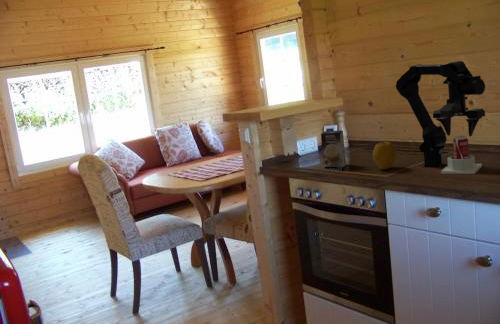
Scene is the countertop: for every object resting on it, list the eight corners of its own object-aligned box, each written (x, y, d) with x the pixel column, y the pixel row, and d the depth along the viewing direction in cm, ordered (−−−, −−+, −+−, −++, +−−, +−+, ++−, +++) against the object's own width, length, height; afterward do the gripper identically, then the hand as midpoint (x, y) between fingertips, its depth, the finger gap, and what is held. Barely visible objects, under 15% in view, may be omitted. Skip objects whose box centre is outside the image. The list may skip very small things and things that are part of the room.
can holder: (441, 173, 198) (440, 160, 197) (449, 166, 207) (448, 154, 206) (474, 173, 191) (473, 160, 190) (481, 166, 200) (481, 153, 199)
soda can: (452, 167, 201) (450, 136, 199) (465, 165, 201) (463, 134, 199) (459, 169, 196) (456, 138, 194) (472, 167, 196) (470, 136, 194)
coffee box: (323, 168, 238) (319, 133, 235) (327, 165, 243) (323, 131, 240) (343, 167, 234) (339, 132, 231) (347, 164, 239) (343, 129, 236)
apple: (396, 170, 213) (394, 142, 211) (372, 172, 216) (369, 144, 214) (398, 165, 222) (396, 138, 220) (375, 166, 225) (372, 140, 223)
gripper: (422, 99, 199) (425, 139, 202) (466, 97, 184) (469, 141, 187) (440, 94, 205) (443, 133, 208) (484, 93, 190) (487, 135, 193)
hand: (459, 135), depth 199 cm, fingers open, 9 cm apart
